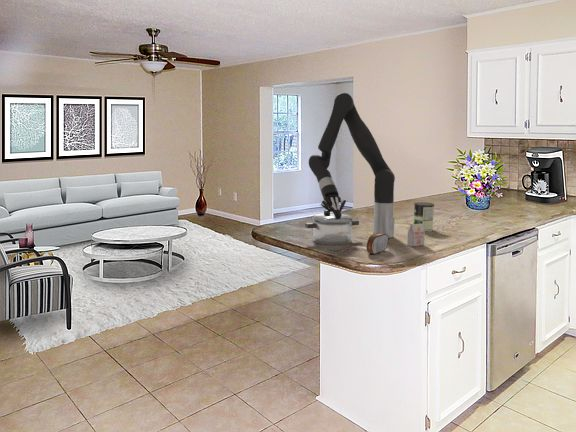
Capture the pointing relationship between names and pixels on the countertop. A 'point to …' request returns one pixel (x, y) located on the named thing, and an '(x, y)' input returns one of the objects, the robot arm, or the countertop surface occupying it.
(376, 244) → the tin
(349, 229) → the cooker pot
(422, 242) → the milk carton
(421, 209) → the coffee can
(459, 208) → the countertop surface
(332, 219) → the cooker lid
